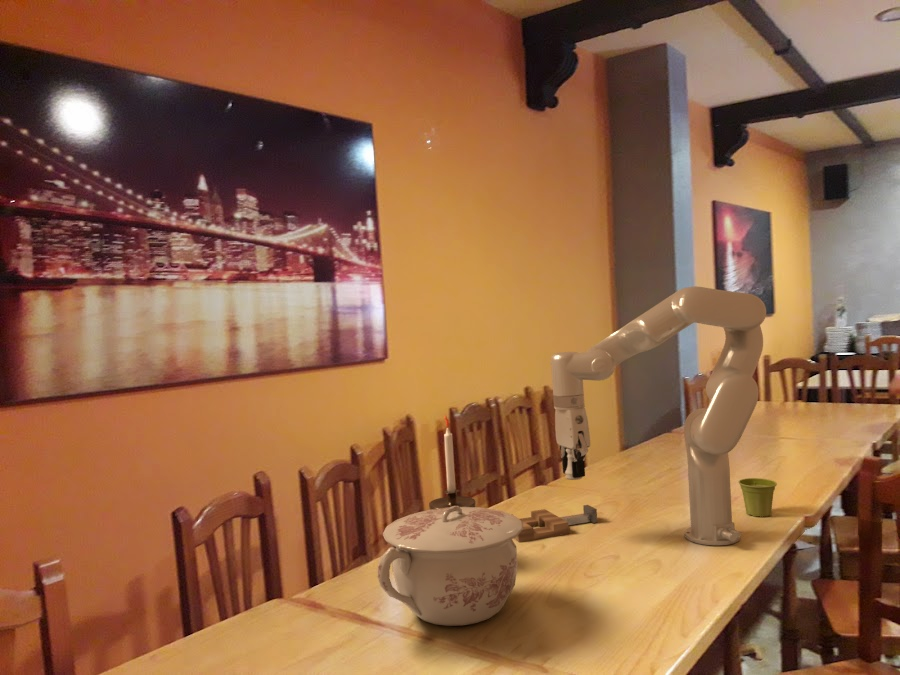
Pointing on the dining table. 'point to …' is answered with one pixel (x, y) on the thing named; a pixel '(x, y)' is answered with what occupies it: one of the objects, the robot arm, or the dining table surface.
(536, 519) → the mount
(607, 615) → the dining table surface
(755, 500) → the plant pot
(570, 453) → the rook chess piece
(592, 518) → the lock pin
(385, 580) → the chamber pot
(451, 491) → the candlestick
